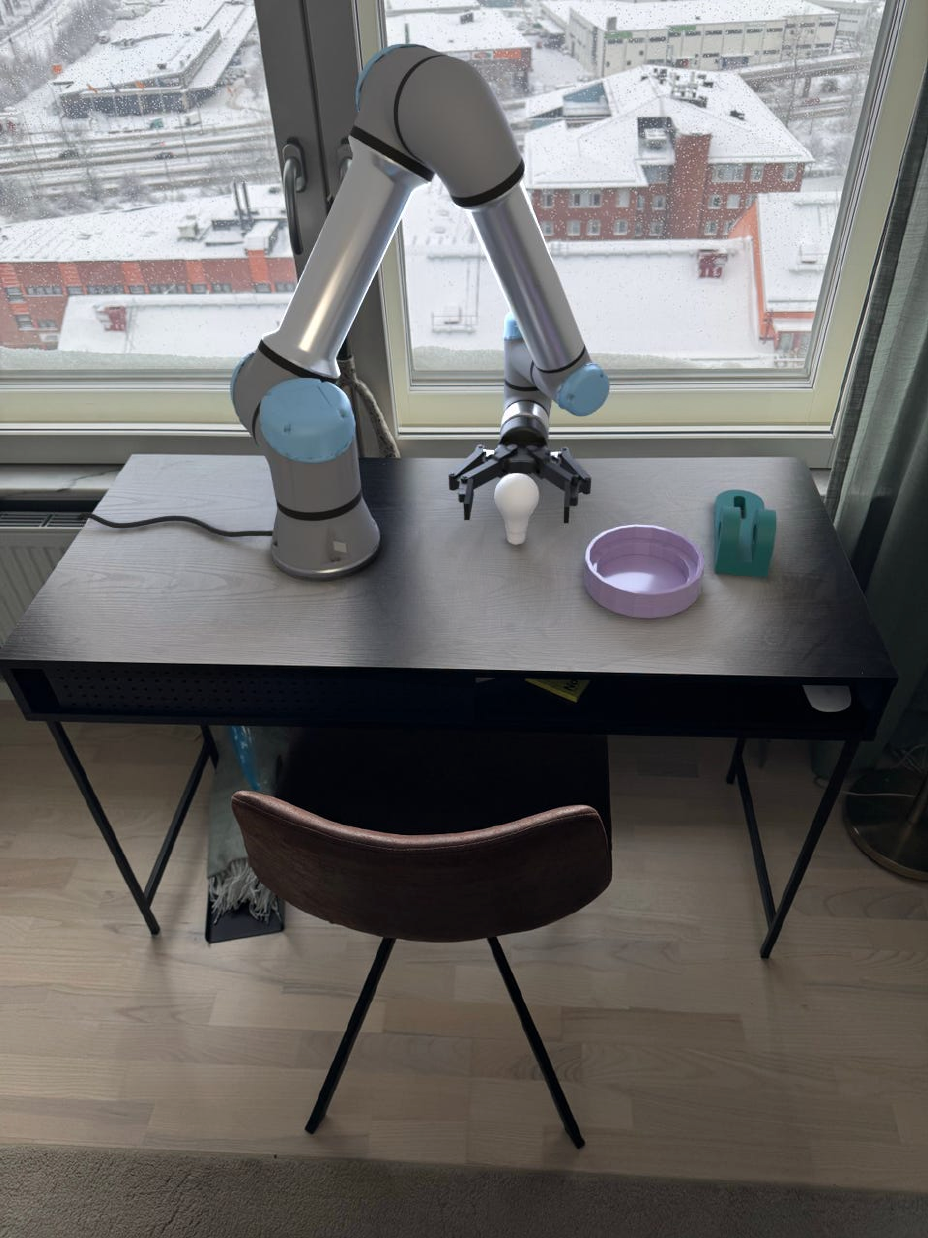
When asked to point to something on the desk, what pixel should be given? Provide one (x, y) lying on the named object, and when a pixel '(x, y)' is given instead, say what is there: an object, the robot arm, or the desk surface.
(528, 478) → the lightbulb
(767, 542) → the bracket
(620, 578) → the bowl
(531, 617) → the desk surface
